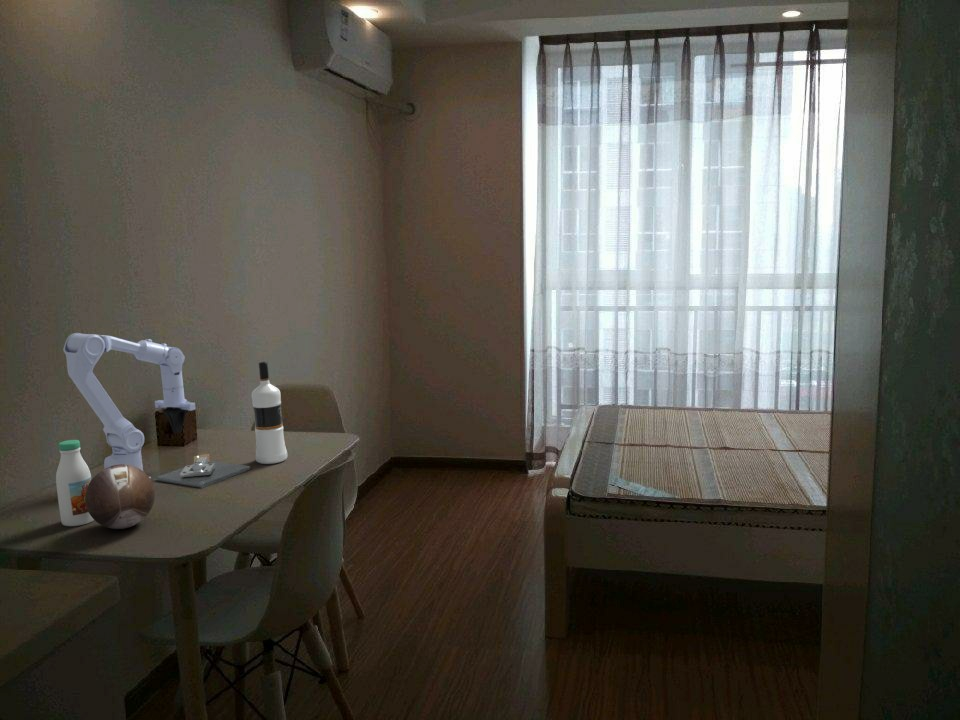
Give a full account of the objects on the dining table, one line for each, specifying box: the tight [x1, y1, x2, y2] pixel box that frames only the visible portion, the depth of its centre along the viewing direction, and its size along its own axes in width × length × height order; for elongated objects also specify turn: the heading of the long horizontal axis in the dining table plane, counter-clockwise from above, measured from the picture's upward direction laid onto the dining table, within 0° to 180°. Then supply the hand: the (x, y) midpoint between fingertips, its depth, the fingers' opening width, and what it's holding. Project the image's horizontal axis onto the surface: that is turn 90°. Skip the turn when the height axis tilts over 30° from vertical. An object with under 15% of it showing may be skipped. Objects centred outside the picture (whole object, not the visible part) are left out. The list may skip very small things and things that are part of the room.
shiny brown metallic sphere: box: [85, 464, 156, 530], centre depth 192 cm, size 15×15×15 cm
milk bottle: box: [55, 439, 95, 527], centre depth 197 cm, size 8×8×20 cm
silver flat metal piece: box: [180, 453, 215, 477], centre depth 235 cm, size 15×8×2 cm, turn 8°
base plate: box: [155, 455, 251, 489], centre depth 233 cm, size 18×18×4 cm
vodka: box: [250, 361, 289, 465], centre depth 242 cm, size 9×9×30 cm
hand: (177, 432), depth 241 cm, fingers closed
